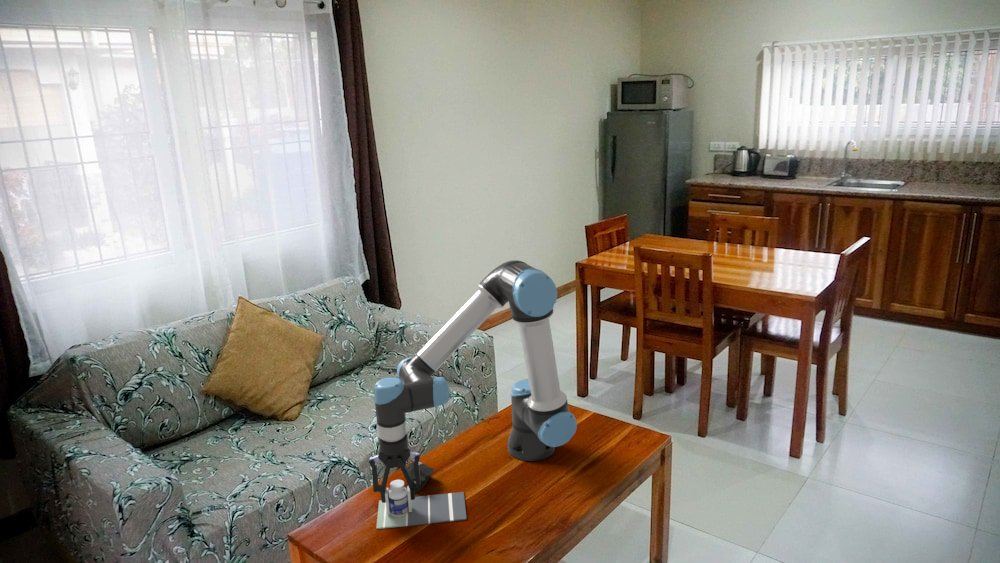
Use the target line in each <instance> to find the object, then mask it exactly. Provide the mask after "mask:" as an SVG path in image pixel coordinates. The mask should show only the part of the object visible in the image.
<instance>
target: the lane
mask: <svg viewBox="0 0 1000 563" xmlns="http://www.w3.org/2000/svg"><path fill="white" fill-rule="evenodd" d="M411 501H412V512H408V513H407V514H406V515H404V516H402V517H395V516H392V515H391V513H390V514H387V510H386V503H382V501H381V500H378V507H377V508H378V509H377V518H376V527H375V529H376V530H382V529H391V528H401V527H411V526H418V525H419V526H420V525H428V524H429V525H430V524H438V523H439V524H440V523H447V522H457V521H465V520H467V510H466V501H465V491H457V492H450V493H440V494H438V493H437V494H430V495H429V494H428V495H421V496H420V495H419V496H415V499H414V500H411Z"/></svg>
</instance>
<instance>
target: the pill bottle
mask: <svg viewBox="0 0 1000 563" xmlns="http://www.w3.org/2000/svg"><path fill="white" fill-rule="evenodd" d="M405 485H406V484H405V481H404V480H402V479H395V480H391V481H390V483H389V489H388V491H389V493H388V497H389V506H390V513H391V515H392V516H395V517H402V516H404V515H406V514H407V513H408V512H409V506H408V495H407V487H406V486H405Z"/></svg>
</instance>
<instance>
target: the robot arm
mask: <svg viewBox="0 0 1000 563" xmlns="http://www.w3.org/2000/svg"><path fill="white" fill-rule="evenodd" d="M557 299H558V289H557V286H556V283H555V282H554V280H553V278H551V276H549V275H548V274H547V273H546V272H544V271H543V270H541V269H538V268H535V267H533V266H532V265H531V264H528V263H526V262H524V261H522V260H517V259H514V260H509V261H506V262H503V263H501V264H499V265H498V266H496V267H495V268H494V269H493V270H492V271H490V272H489V273H488V274H487V275H486V276H485V277H484V278H483V279H482V280H481V281H480V282H479V283H478V284H477V290H476V291H475V292H474V293H473V295H471V296H470V298H469V299H468V300H467V301H466V302H465V303H464V304H463V305H462V306H461V307H460V308H459V309H458V310H457V311H456V312H455V313H454V314H453V316H451V317H450V318H449V320H447V322H446V323H445V324H444V325H443V326H442V327H441V328H440V329H439V330H438V331H437V332H436V333H435V334H434V335H433V336H432V337H431V338H430V339H429V340H428V341H427V342H426V344H424V346H423V347H422V348H420V350H419V351H417V353H415V355H414V356H410V357H406V358H404V359H401V361H400V362H399V363H398V365H397V369H396V373H397V376H398V377H389V376H388V377H384V378H382V379H379V380H378V381H377V382H376V383H375V385H374V386H373V389H374V390H373V391H374V392H373V395H374V396H373V397H374V399H373V400H374V407H375V415H376V427H377V437H378V446H379V447H378V448H379V451H378V453H377V455H370V456H369V461H368V464H369V466H370V467H371V475H372V489H373V492H374V493H380V497H381V498H380V499H381V501H382V503H386V510H387V514H390V506H389V497H388V493H389V487H387V483H388V480H389V475H390V470H391V469H394V468H400V470H401V472H402V474H403V477H404V479H405V481H406V483H407V486H406V489H407V495H408V506H409V512H412V501H411V500H414V499H415V497H416V492H415V488H420V487H421V479H420V470H419V462H420V458H421V457H420V456H421V452H420V451H419V450H417V451H415V452H414V451H411V450H410V448H409V442H408V433H407V432H408V431H407V420H406V414H410V413H413V412H418V411H421V410H426V409H432V408H437V407H440V406H443V405H446V404H447V403H448V402H449V401H450V388H449V384H448V381H447V380H446V378H445V377H444V376H433V375H434V374H435V373H436V372H437V371H438V369H439V368H441V367H442V365H444V364H445V362H446V361H448V359H450V357H452V355H453V354H454V353H455V352H456V351H457V350H458V349H459V348H460V347H461V345H463V344H464V343H465V342H466V340H467V339H468V338H470V337H471V336H472V334H473V333H474V332H476V330H477V329H478V328H479V327H480V326H481V325H482V324H483V323H484V322H485V321H486V320H487V319H488V318H489V317H490V316H491V315H492V313H493V312H494V311H495V310H496V309H502V308H503V307H505V305H506V304H507V303H508V304H509V309H510V310H509V311H510V315H511V319H512V321H513V322H515V323H517V324H518V327H519V328H518V329H519V333H520V340H521V345H522V349H523V350H522V351H523V356H524V362H525V367H526V368H525V369H526V374H527V378H526V379H521V380H518V381H516V382H515V383H513V385H512V386H511V392H510V398H511V400H510V401H511V402H510V403H511V421H512V422H511V423H512V424H511V425H512V426H511V431H510V433H509V436H508V440H507V452H508V453H509V455H511V456H512V457H514V458H515V459H517V460H521V461H525V462H532V461H533V462H534V461H537V462H538V461H542V460H545V459H547V458H549V457H550V456H552V455H553V454H554V453H555V450H556V449H555V448H557V447H558V448H559V447H561V446H563V445H565V444H566V443H568V442H569V441H570V440H571V439H572V437H573V436H574V435H575V434H576V431H577V427H578V423H577V422H578V421H577V419H576V417H575V415H574V414H573V413H572V412H571V411H570V410H569V409H570V408H569V403H568V398H567V394H566V393H565V392H564V391H563V390H561V386H560V381H559V380H560V379H559V374H558V368H557V362H556V361H557V360H556V354H555V348H554V347H555V346H554V342H553V341H554V340H553V335H552V328H551V324H550V318H551V317H552V316H553V314H554V306H555V304H556V302H557ZM409 458H411V461H412V462H413V461H414V471H415V480H416V481H413V479H412V477H411V474H410V472H409V469H408V465H407V461H408V460H409ZM379 460H380V462H381V463H383V465H384V470H383V476H382V480H381V483H380V484H379V472H378V464H379Z"/></svg>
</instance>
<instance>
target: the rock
mask: <svg viewBox="0 0 1000 563" xmlns="http://www.w3.org/2000/svg"><path fill="white" fill-rule="evenodd" d="M407 467H408V469H409V472H410V474H411V477H412V479H413V481H416V480H415V471H414V461H412V462H411V463H410V464H409V463H408V465H407ZM419 470H420V479H421V487H420V488H415V494H417V493H420V492H421V490H422V488H423V487H424V486H425V485H426V484H427V482H428V481H429V479H430V478H431V476H432V475H433V473H434V471H435V468H434V467H431V466H428V465H427V464H425V463H423V462H420V461H419Z"/></svg>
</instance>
